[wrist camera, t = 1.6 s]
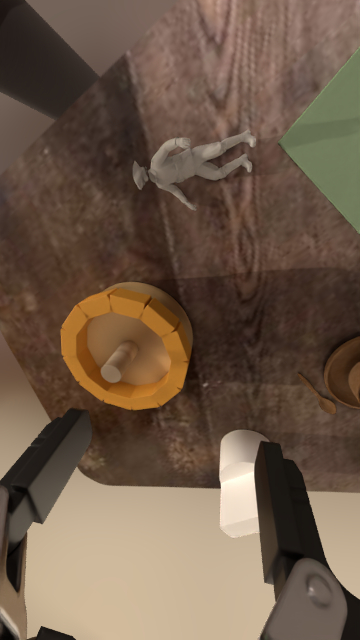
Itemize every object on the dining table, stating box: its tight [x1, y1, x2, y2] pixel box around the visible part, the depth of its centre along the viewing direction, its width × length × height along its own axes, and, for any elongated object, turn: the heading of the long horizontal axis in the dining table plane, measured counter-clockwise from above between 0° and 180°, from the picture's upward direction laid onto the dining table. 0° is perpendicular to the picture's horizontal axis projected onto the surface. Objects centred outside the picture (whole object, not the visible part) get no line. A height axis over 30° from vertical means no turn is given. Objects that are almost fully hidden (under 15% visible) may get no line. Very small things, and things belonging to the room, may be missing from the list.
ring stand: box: [87, 282, 193, 386], centre depth 33 cm, size 17×17×10 cm
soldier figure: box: [133, 130, 256, 210], centre depth 25 cm, size 8×5×12 cm
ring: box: [61, 288, 191, 410], centre depth 32 cm, size 17×17×3 cm
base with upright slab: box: [220, 430, 269, 538], centre depth 38 cm, size 9×9×12 cm
